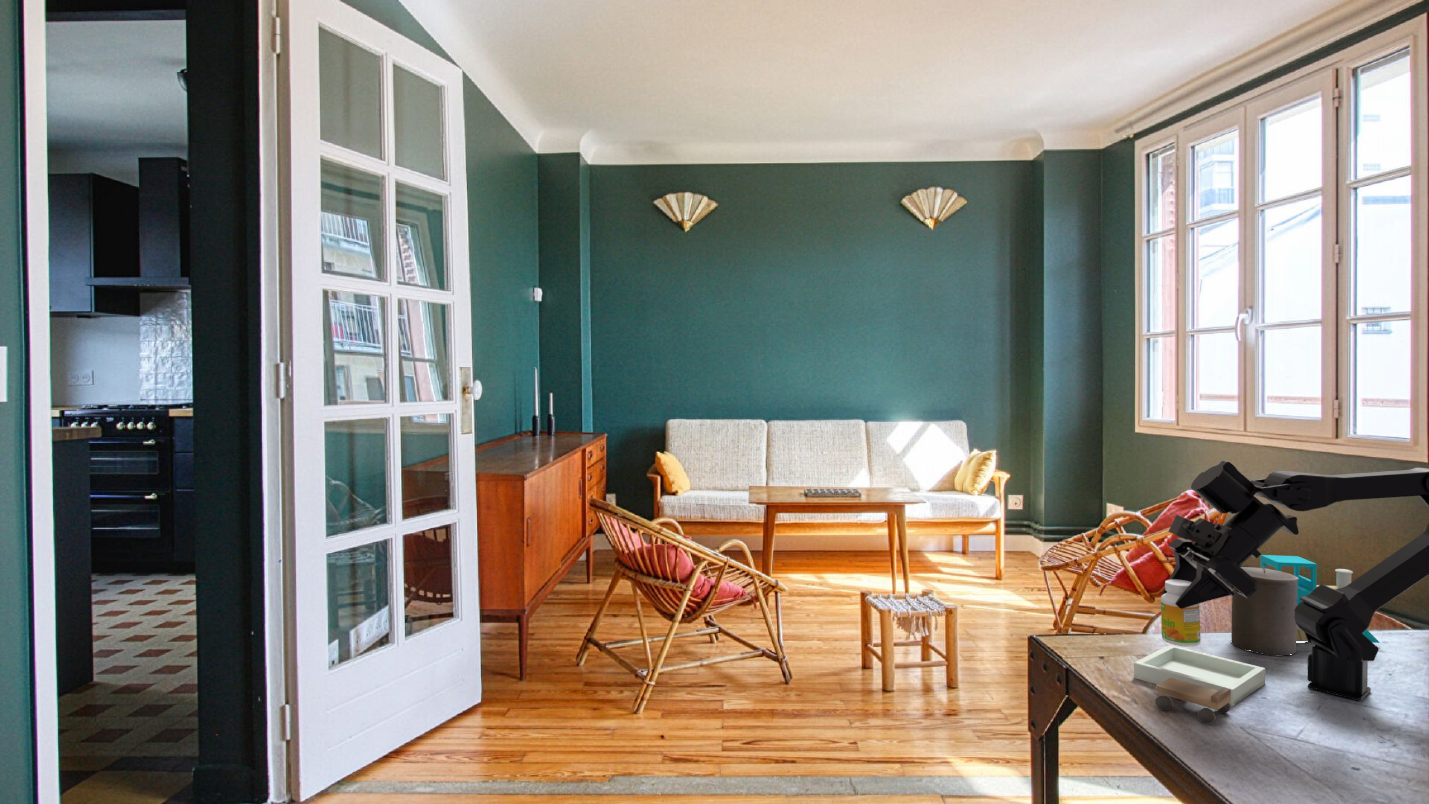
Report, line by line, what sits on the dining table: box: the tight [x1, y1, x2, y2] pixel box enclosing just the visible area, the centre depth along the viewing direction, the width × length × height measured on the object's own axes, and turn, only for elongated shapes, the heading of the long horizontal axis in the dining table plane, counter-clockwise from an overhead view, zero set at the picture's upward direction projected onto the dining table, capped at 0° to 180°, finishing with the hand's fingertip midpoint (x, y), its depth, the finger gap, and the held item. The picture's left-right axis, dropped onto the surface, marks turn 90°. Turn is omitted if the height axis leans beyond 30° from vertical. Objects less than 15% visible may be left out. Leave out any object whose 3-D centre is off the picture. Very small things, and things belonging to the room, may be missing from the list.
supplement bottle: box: [1160, 579, 1202, 648], centre depth 122 cm, size 5×5×10 cm
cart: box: [1154, 678, 1232, 725], centre depth 110 cm, size 8×7×4 cm
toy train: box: [1259, 554, 1381, 644], centre depth 142 cm, size 8×17×15 cm, turn 78°
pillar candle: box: [1230, 566, 1299, 656], centre depth 137 cm, size 10×10×15 cm
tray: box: [1133, 644, 1266, 707], centre depth 121 cm, size 14×14×2 cm
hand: (1170, 601), depth 122 cm, fingers closed on supplement bottle, 5 cm apart
